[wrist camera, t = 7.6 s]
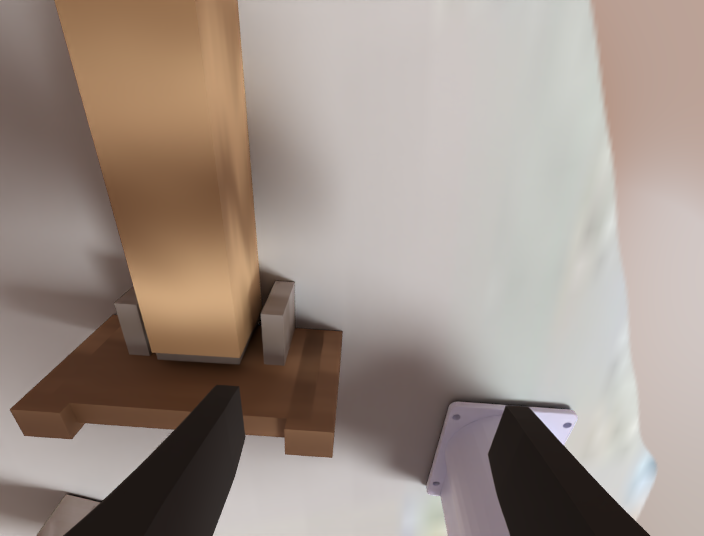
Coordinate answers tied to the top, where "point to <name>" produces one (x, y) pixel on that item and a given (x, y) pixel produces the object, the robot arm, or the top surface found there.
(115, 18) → the tan wooden bar
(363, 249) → the top surface
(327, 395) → the wooden base
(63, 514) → the coffee box
